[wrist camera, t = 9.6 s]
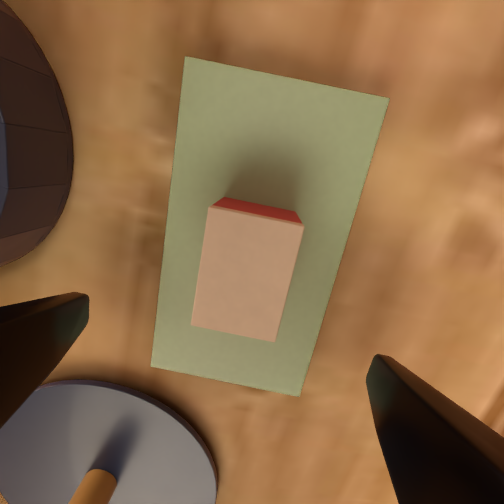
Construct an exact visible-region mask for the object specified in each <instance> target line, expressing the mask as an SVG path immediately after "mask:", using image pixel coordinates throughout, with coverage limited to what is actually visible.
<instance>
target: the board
mask: <svg viewBox="0 0 504 504" xmlns="http://www.w3.org/2000/svg"><path fill="white" fill-rule="evenodd" d="M389 100H390V98H387V97H382V96H377V95H372V94H368V93H363V92H358V91H353V90H348V89H343V88H338V87H334V86H329V85H324V84H319V83H314V82H309V81H305V80H300V79H295V78H290V77H285V76H280V75H275V74H271V73H266V72H261V71H256V70H251V69H246V68H241V67H237V66H232V65H227V64H222V63H217V62H212V61H208V60H203V59H198V58H193V57H188V56H185V60H184V69H183V78H182V87H181V96H180V105H179V114H178V123H177V132H176V141H175V150H174V159H173V168H172V177H171V186H170V195H169V204H168V213H167V222H166V231H165V240H164V249H163V258H162V267H161V276H160V285H159V294H158V303H157V312H156V321H155V330H154V339H153V348H152V357H151V367H155V368H160V369H165V370H170V371H175V372H180V373H185V374H190V375H194V376H199V377H204V378H209V379H214V380H219V381H224V382H228V383H233V384H238V385H243V386H248V387H253V388H258V389H263V390H267V391H272V392H277V393H282V394H287V395H292V396H297V397H299V396H300V393H301V390H302V387H303V383H304V380H305V377H306V374H307V370H308V367H309V364H310V360H311V357H312V354H313V351H314V347H315V344H316V341H317V337H318V334H319V331H320V327H321V324H322V321H323V318H324V314H325V311H326V308H327V304H328V301H329V298H330V295H331V291H332V288H333V285H334V281H335V278H336V275H337V272H338V268H339V265H340V262H341V258H342V255H343V252H344V248H345V245H346V242H347V239H348V235H349V232H350V229H351V225H352V222H353V219H354V216H355V212H356V209H357V206H358V202H359V199H360V196H361V193H362V189H363V186H364V183H365V179H366V176H367V173H368V169H369V166H370V163H371V160H372V156H373V153H374V150H375V146H376V143H377V140H378V137H379V133H380V130H381V127H382V123H383V120H384V117H385V114H386V110H387V107H388V104H389ZM223 197H227V198H232V199H237V200H242V201H247V202H252V203H257V204H262V205H266V206H271V207H276V208H281V209H286V210H291V211H295V212H296V213H297V215H298V217H299V218H300V220H301V222H302V224H303V225H304V226H305V228H304V232H303V236H302V240H301V244H300V247H299V251H298V255H297V259H296V263H295V267H294V271H293V275H292V279H291V283H290V287H289V291H288V294H287V298H286V302H285V306H284V310H283V314H282V318H281V322H280V326H279V330H278V334H277V338H276V341H275V342H270V341H265V340H260V339H255V338H250V337H245V336H240V335H235V334H231V333H226V332H221V331H216V330H211V329H206V328H201V327H196V326H192V325H191V319H192V313H193V306H194V299H195V293H196V286H197V280H198V273H199V266H200V260H201V253H202V247H203V240H204V233H205V227H206V220H207V214H208V207H209V206H211V205H213V204H214V203H216V202H217V201H219V200H220V199H222V198H223Z"/></svg>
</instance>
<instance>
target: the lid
mask: <svg viewBox="0 0 504 504" xmlns="http://www.w3.org/2000/svg"><path fill="white" fill-rule="evenodd" d="M217 489H218V484H217V473H216V469H215V464H214V462H213V459H212V457H211V454H210V452H209V450H208V448H207V447H206V445H205V443H204V442H203V440H202V439H201V437H200V436H199V435H198V434H197V432H196V431H195V430H194V429H193V428H192V427H191V426H190V425H189V424H188V423H187V422H186V421H185V420H184V419H183V418H182V417H181V416H180V415H178V414H177V413H176V412H175V411H173V410H172V409H171V408H169V407H167V406H166V405H164V404H163V403H161V402H160V401H158V400H156V399H154V398H152V397H150V396H148V395H146V394H144V393H142V392H139V391H136V390H134V389H131V388H128V387H125V386H121V385H118V384H114V383H110V382H103V381H96V380H79V379H77V380H63V381H58V382H53V383H48V384H45V385H42V386H39V387H38V388H37V389H36V390H35V391H34V392H33V393H32V394H31V395H30V397H29V398H28V399H27V400H26V401H25V402H24V403H23V404H22V406H21V407H20V408H19V409H18V410H17V411H16V412H15V413H14V414H13V416H12V417H11V418H10V419H9V420H8V421H7V422H6V423H5V424H4V426H3V427H2V428H1V429H0V493H1V494H2V496H3V497H4V498H5V500H6V501H7V502H8V503H9V504H215V503H216V496H217Z"/></svg>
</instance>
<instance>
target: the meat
mask: <svg viewBox="0 0 504 504" xmlns="http://www.w3.org/2000/svg"><path fill="white" fill-rule="evenodd" d="M304 228H305V226H304V225H303V224H302V222H301V220H300V218H299V217H298V215H297V213H296V212H295V211H291V210H286V209H281V208H276V207H271V206H266V205H262V204H257V203H252V202H247V201H242V200H237V199H232V198H227V197H223V198H222V199H220V200H219V201H217V202H216V203H214V204H213V205H211V206H209V207H208V214H207V220H206V227H205V233H204V240H203V247H202V253H201V260H200V266H199V273H198V280H197V286H196V293H195V299H194V306H193V313H192V319H191V325H192V326H196V327H201V328H206V329H211V330H216V331H221V332H226V333H231V334H235V335H240V336H245V337H250V338H255V339H260V340H265V341H270V342H275V341H276V338H277V334H278V330H279V326H280V322H281V318H282V314H283V310H284V306H285V302H286V298H287V294H288V291H289V287H290V283H291V279H292V275H293V271H294V267H295V263H296V259H297V255H298V251H299V247H300V244H301V240H302V236H303V232H304Z"/></svg>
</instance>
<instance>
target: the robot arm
mask: <svg viewBox="0 0 504 504" xmlns="http://www.w3.org/2000/svg"><path fill="white" fill-rule="evenodd" d="M88 319H89V296H88V295H86V294H83V293H78V292H71V293H66V294H61V295H57V296H52V297H47V298H42V299H37V300H32V301H27V302H22V303H17V304H12V305H8V306H3V307H0V429H1V428H2V427H3V426H4V424H5V423H6V422H7V421H8V420H9V419H10V418H11V417H12V416H13V414H14V413H15V412H16V411H17V410H18V409H19V408H20V407H21V406H22V404H23V403H24V402H25V401H26V400H27V399H28V398H29V397H30V395H31V394H32V393H33V392H34V391H35V390H36V389H37V388H38V387H39V385H40V384H41V383H42V382H43V381H44V380H45V379H46V378H47V377H48V375H49V374H50V373H51V372H52V371H53V370H54V368H55V367H56V366H57V365H58V363H59V362H60V361H61V360H62V358H63V357H64V355H65V354H66V353H67V351H68V350H69V349H70V347H71V346H72V345H73V343H74V342H75V340H76V339H77V338H78V336H79V335H80V334H81V332H82V331H83V330H84V328H85V327H86V325H87V323H88ZM366 385H367V390H368V395H369V399H370V404H371V409H372V414H373V419H374V424H375V428H376V432H377V436H378V439H379V442H380V446H381V449H382V452H383V455H384V458H385V461H386V465H387V468H388V471H389V474H390V477H391V480H392V484H393V487H394V490H395V493H396V496H397V500H398V503H399V504H504V438H503V437H502V436H501V435H499V434H498V433H497V432H495V431H494V430H492V429H491V428H490V427H488V426H487V425H485V424H484V423H483V422H481V421H480V420H478V419H477V418H476V417H474V416H473V415H471V414H470V413H469V412H467V411H466V410H464V409H463V408H462V407H460V406H459V405H457V404H456V403H454V402H453V401H452V400H450V399H449V398H447V397H446V396H445V395H443V394H442V393H440V392H439V391H438V390H436V389H435V388H433V387H432V386H431V385H429V384H428V383H426V382H425V381H424V380H422V379H421V378H419V377H418V376H417V375H415V374H414V373H412V372H411V371H410V370H408V369H407V368H405V367H404V366H403V365H401V364H400V363H398V362H397V361H396V360H394V359H393V358H391V357H389V356H385V355H381V354H377V355H375V356H374V358H373V360H372V363H371V365H370V368H369V371H368V373H367V377H366Z"/></svg>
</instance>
